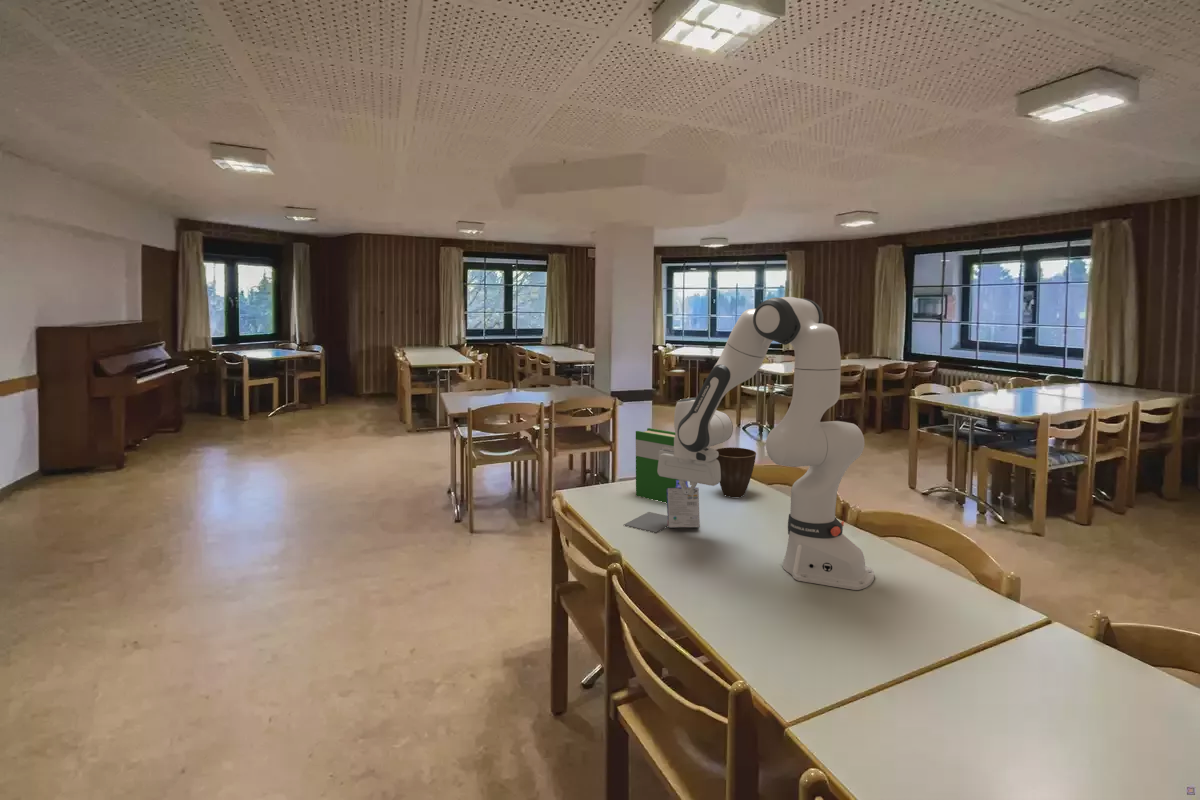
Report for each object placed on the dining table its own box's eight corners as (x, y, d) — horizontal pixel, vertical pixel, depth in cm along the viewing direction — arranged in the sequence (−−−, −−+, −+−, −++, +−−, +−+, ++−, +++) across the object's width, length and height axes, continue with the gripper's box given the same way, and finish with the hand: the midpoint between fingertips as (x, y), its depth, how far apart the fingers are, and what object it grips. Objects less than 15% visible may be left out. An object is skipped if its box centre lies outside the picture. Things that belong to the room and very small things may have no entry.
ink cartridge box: (698, 526, 201) (697, 480, 203) (700, 527, 196) (699, 479, 198) (666, 526, 201) (665, 480, 203) (668, 527, 196) (667, 480, 198)
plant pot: (760, 492, 236) (761, 450, 233) (746, 503, 223) (747, 458, 221) (722, 486, 243) (722, 445, 241) (706, 497, 231) (707, 453, 229)
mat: (680, 519, 208) (680, 518, 207) (656, 533, 196) (656, 532, 196) (648, 512, 215) (648, 511, 215) (623, 525, 203) (623, 524, 203)
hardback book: (635, 495, 234) (635, 431, 230) (648, 491, 239) (648, 428, 236) (674, 505, 222) (674, 437, 218) (687, 500, 227) (687, 434, 224)
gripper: (653, 448, 197) (653, 491, 200) (714, 457, 185) (713, 503, 188) (664, 444, 202) (663, 486, 205) (723, 452, 190) (722, 497, 193)
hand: (688, 494), depth 196 cm, fingers closed
